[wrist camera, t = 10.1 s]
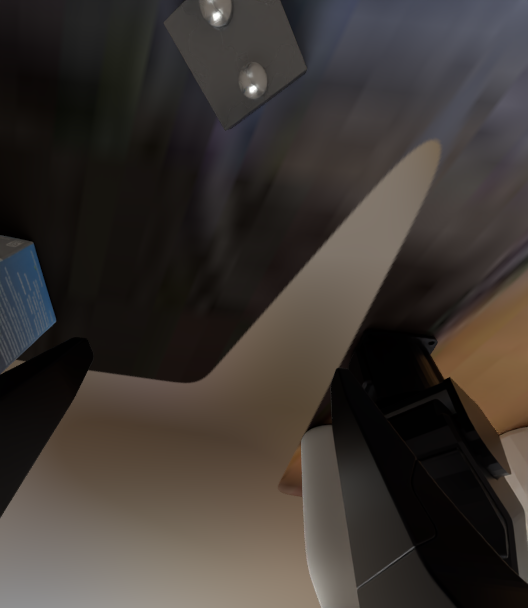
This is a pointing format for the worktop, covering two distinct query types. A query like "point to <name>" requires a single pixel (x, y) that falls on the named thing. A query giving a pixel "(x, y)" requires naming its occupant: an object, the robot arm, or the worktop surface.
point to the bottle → (517, 464)
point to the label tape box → (21, 299)
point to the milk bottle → (326, 522)
